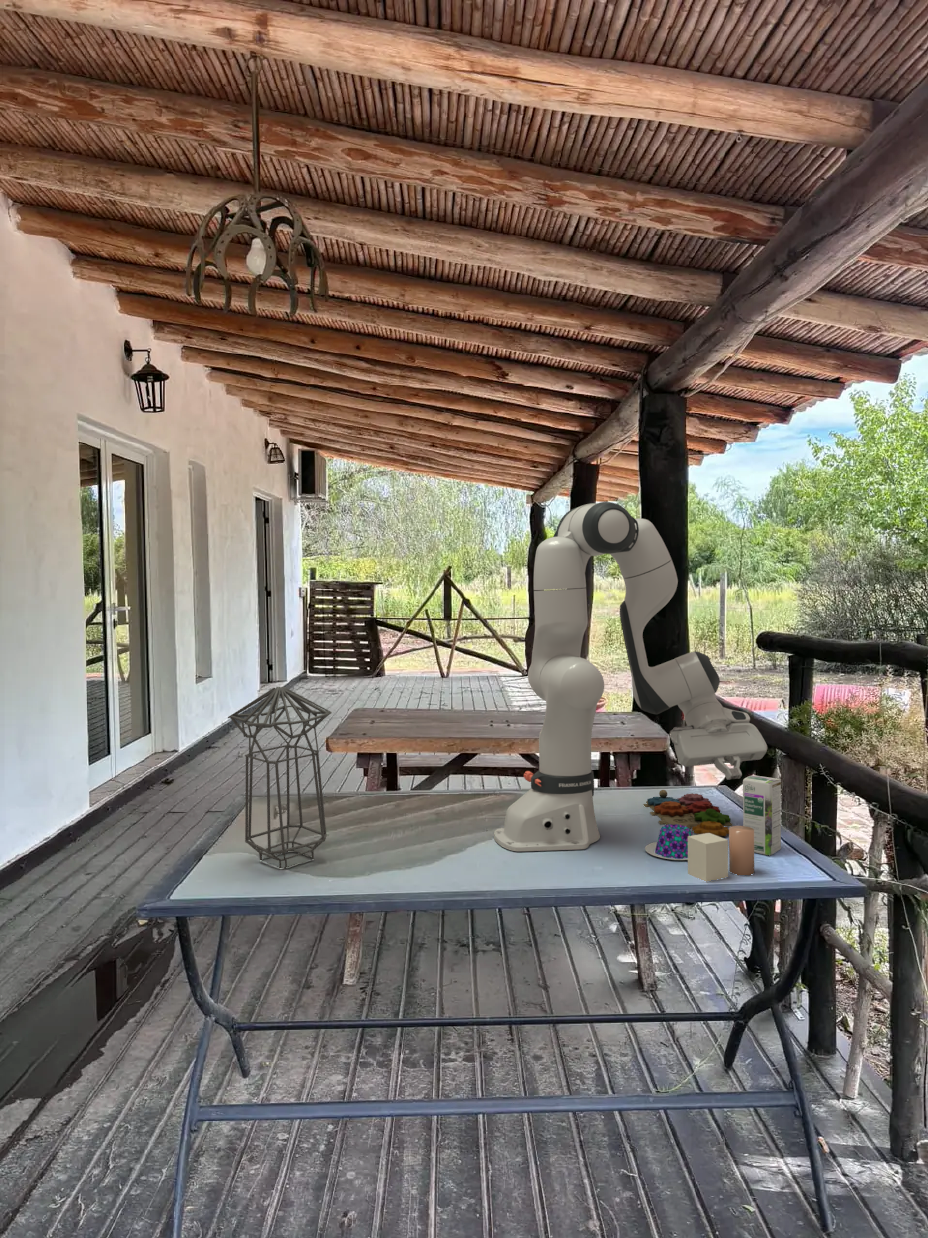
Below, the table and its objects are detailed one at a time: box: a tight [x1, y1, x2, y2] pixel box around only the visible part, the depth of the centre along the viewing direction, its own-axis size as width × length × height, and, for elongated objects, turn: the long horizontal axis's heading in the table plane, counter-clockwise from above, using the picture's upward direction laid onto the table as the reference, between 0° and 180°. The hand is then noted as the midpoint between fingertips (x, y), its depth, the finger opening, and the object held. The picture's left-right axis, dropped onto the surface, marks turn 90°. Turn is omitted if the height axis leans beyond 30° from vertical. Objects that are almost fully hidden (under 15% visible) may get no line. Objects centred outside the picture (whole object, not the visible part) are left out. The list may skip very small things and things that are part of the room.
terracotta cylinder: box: [728, 825, 755, 876], centre depth 153 cm, size 4×4×8 cm
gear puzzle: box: [642, 789, 734, 837], centre depth 188 cm, size 31×16×4 cm, turn 1°
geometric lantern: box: [227, 686, 332, 868], centre depth 163 cm, size 16×16×35 cm
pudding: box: [644, 824, 693, 861], centre depth 165 cm, size 12×12×5 cm
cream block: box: [687, 833, 729, 883], centre depth 151 cm, size 5×5×7 cm
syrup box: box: [742, 774, 782, 857], centre depth 165 cm, size 6×6×14 cm
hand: (734, 777), depth 175 cm, fingers closed
